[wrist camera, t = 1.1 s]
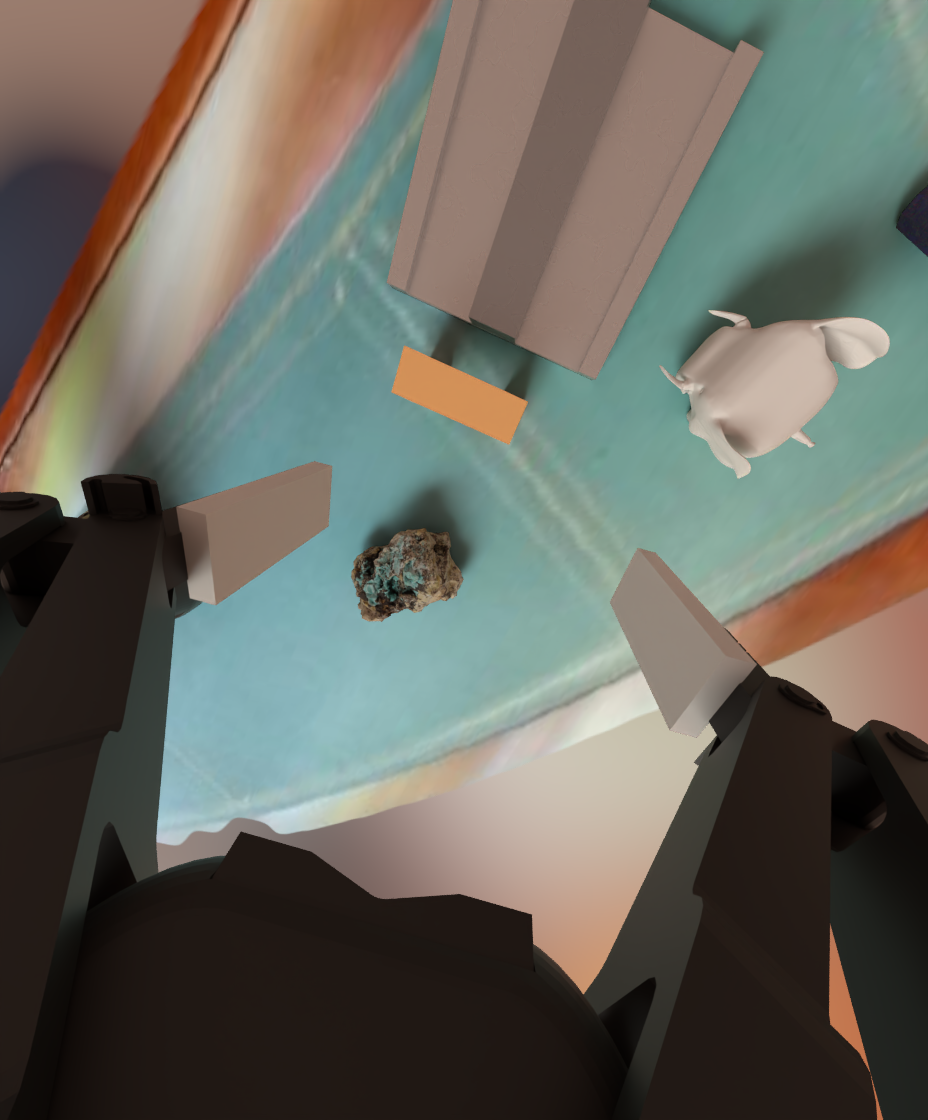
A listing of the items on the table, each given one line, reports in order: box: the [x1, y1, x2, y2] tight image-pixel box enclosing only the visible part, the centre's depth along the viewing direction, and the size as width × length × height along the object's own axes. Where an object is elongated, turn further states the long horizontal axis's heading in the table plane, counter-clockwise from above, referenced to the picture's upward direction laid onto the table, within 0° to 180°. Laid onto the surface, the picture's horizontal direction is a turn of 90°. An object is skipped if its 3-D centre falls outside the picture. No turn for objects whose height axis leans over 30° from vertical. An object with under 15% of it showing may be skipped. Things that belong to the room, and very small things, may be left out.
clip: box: [392, 346, 528, 444], centre depth 27 cm, size 9×3×8 cm, turn 68°
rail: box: [387, 0, 764, 380], centre depth 23 cm, size 18×18×4 cm
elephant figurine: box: [659, 310, 890, 479], centre depth 25 cm, size 10×12×9 cm
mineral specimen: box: [351, 528, 464, 622], centre depth 37 cm, size 12×9×8 cm
